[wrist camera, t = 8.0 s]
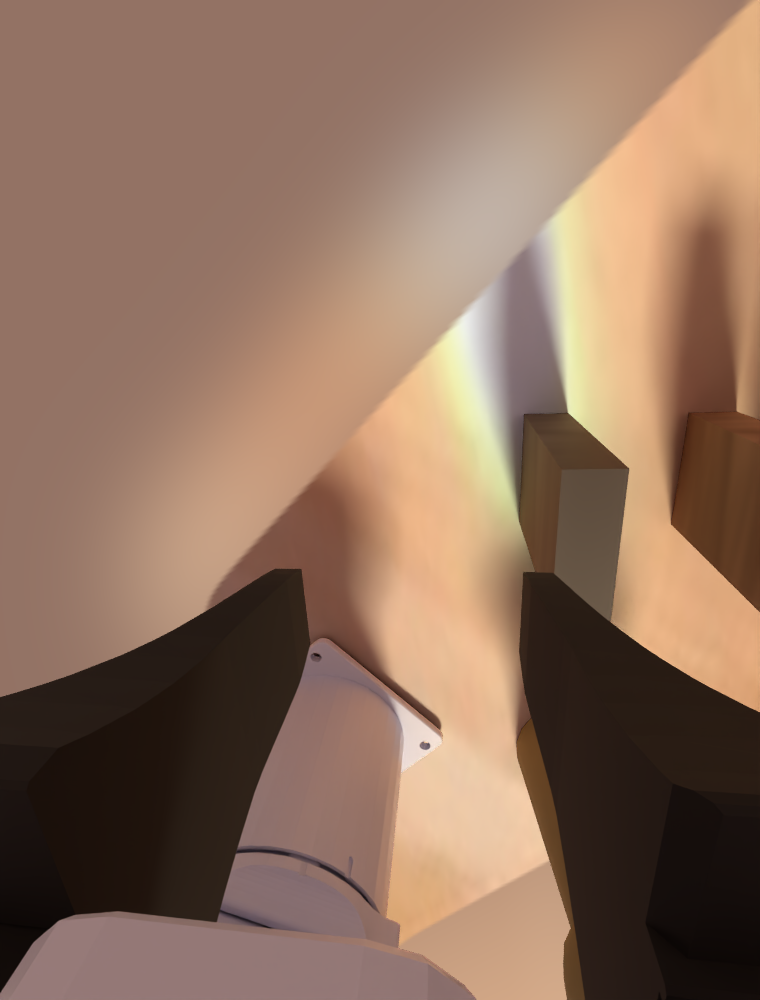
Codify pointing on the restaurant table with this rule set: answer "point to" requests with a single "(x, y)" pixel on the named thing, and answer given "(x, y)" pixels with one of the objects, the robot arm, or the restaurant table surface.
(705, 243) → the restaurant table surface
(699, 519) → the tile
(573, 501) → the tile
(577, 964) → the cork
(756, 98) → the restaurant table surface
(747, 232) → the restaurant table surface
